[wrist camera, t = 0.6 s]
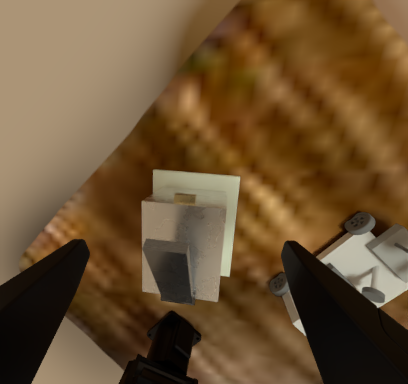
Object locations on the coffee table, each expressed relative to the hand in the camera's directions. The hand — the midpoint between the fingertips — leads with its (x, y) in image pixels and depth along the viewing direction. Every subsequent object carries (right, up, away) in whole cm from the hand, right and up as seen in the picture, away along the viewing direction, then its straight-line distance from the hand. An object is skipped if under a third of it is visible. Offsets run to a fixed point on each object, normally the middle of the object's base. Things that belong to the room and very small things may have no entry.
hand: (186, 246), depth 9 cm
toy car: (+20, -8, +18) cm, 28 cm away
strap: (-2, -5, +8) cm, 9 cm away
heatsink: (-1, -2, +18) cm, 18 cm away
